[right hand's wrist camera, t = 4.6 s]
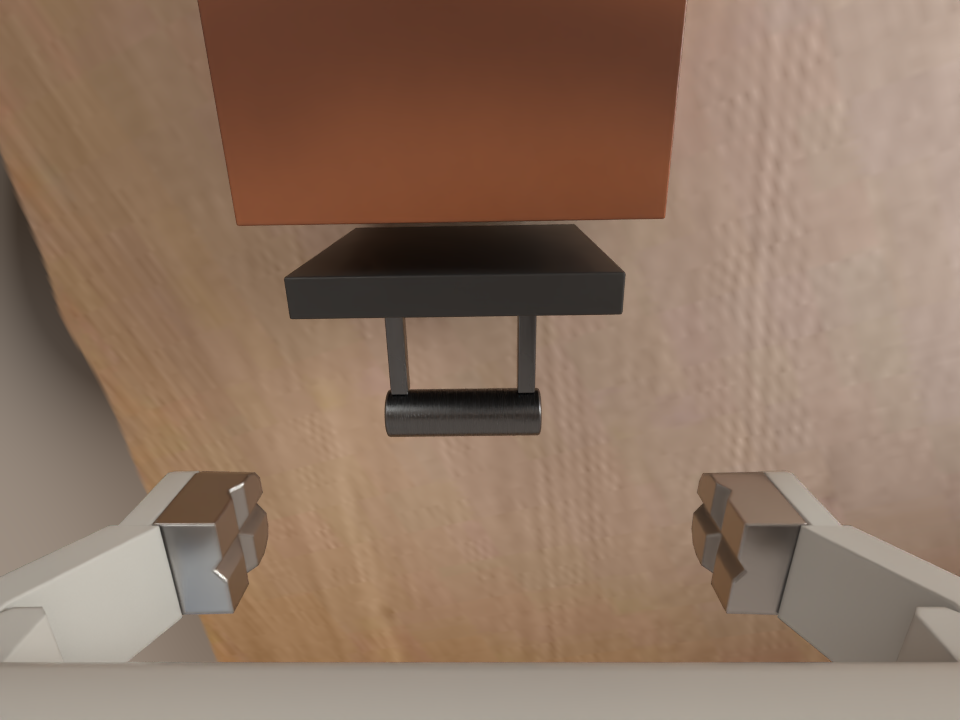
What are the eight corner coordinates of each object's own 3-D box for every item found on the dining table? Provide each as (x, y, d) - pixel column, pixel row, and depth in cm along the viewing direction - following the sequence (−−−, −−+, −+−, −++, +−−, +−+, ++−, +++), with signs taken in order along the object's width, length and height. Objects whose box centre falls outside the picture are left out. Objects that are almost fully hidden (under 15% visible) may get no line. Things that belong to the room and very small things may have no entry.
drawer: (568, 368, 26) (609, 479, 17) (369, 371, 26) (313, 483, 17) (600, -341, 17) (712, -804, 9) (299, -331, 17) (124, -779, 9)
